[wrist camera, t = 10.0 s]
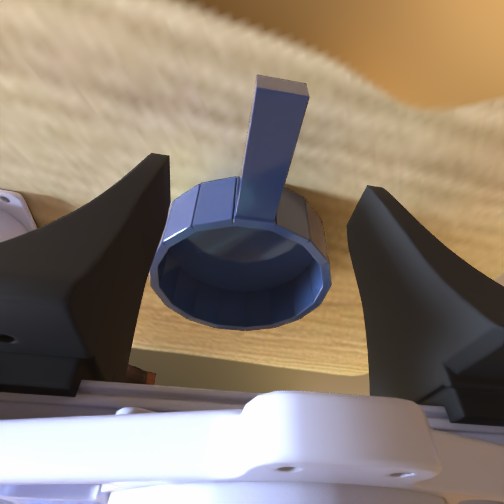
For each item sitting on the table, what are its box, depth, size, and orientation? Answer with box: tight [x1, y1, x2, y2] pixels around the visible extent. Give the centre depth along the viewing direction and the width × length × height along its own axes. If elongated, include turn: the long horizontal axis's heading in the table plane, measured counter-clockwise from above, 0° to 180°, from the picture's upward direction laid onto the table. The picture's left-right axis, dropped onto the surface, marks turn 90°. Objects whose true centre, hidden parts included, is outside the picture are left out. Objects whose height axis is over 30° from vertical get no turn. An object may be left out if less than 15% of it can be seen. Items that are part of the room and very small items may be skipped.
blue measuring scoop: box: [149, 75, 332, 331], centre depth 21 cm, size 19×12×4 cm, turn 171°
